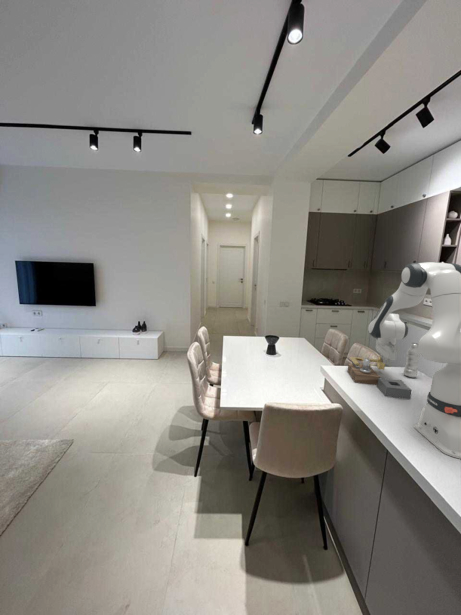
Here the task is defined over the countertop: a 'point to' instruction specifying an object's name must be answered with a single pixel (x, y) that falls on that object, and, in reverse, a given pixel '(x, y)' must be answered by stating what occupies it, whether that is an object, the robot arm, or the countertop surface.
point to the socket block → (362, 375)
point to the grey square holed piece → (394, 388)
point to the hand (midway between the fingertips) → (383, 362)
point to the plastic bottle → (412, 360)
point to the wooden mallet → (379, 365)
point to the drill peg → (365, 366)
